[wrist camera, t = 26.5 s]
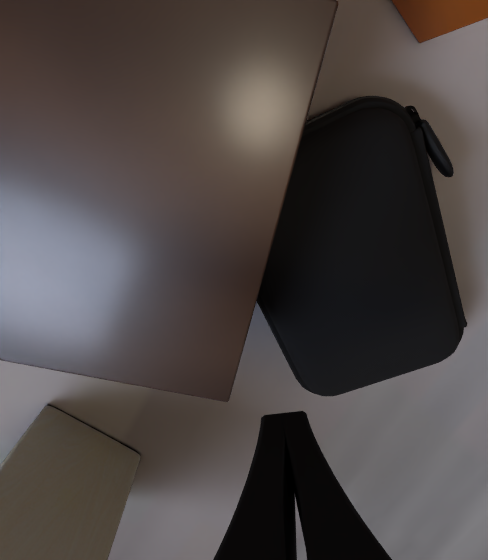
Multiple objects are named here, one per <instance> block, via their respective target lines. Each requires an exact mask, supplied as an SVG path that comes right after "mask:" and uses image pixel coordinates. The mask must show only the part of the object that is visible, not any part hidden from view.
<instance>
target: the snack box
mask: <svg viewBox="0 0 488 560" xmlns="http://www.w3.org/2000/svg"><path fill="white" fill-rule="evenodd" d="M392 2H393V3H394V5H395V6H396V8H397V10H398V11H399V13H400V14H401V16H402V17H403V19H404V20H405V22H406V23H407V25H408V26H409V28H410V29H411V31H412V32H413V34H414V35H415V37H416V38H417V40H418V42H420V43H422V42H424V41H427V40H430V39H432V38H435V37H438V36H440V35H443V34H446V33H448V32H451V31H454V30H456V29H459V28H462V27H464V26H467V25H470V24H473V23H475V22H478V21H481V20H483V19H486V18H488V0H392Z"/></svg>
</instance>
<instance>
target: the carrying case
mask: <svg viewBox="0 0 488 560" xmlns="http://www.w3.org/2000/svg"><path fill="white" fill-rule="evenodd" d="M412 110H413V111H414V112H413V111H412ZM427 153H428V155H429V156H430V158H431V160H432V162H433V163H434V165H435V166H436V168H437V169H438V170H439V171H440V173H441V174H442V175H444V176H445V177H452V176H453V173H454V172H453V167H452V164H451V161H450V159H449V158H448V156H447V154H446V152H445V150H444V149H443V147H442V145H441V143H440V141H439V140H438V138H437V136H436V135H435V133H434V131H433V130H432V128H431V126H430V125H429V123H428V122H427V121H426V120H424V119H423V120H421V119H420V117H419V115H418V112H417V110H416V109H415V107H414V106H406V107H403V106H401V105H400V104H399V103H397V102H395V101H393V100H391V99H388V98H385V97H379V96H366V97H359V98H357V99H354V100H351V101H349V102H347V103H345V104H343V105H341V106H339V107H337V108H335V109H333V110H331V111H329V112H327V113H324V114H322V115H320V116H318V117H316V118H314V119H312V120H310V121H308V122H306V123H305V127H304V130H303V134H302V137H301V141H300V145H299V148H298V152H297V156H296V159H295V163H294V166H293V170H292V174H291V177H290V181H289V185H288V188H287V192H286V195H285V199H284V203H283V206H282V210H281V214H280V217H279V221H278V224H277V228H276V232H275V235H274V239H273V242H272V246H271V250H270V253H269V257H268V261H267V264H266V268H265V271H264V275H263V279H262V282H261V286H260V290H259V293H258V297H257V300H256V301H257V303H258V305H259V306H260V308H261V310H262V312H263V314H264V316H265V318H266V320H267V322H268V324H269V326H270V328H271V330H272V332H273V334H274V336H275V338H276V340H277V342H278V344H279V346H280V348H281V350H282V352H283V354H284V356H285V358H286V360H287V362H288V364H289V366H290V368H291V370H292V372H293V373H294V375H295V377H296V379H297V380H298V382H299V383H300V384H301V386H302V387H303V388H305V389H306V390H308V391H310V392H312V393H314V394H318V395H321V396H336V395H340V394H343V393H346V392H349V391H352V390H355V389H358V388H362V387H365V386H368V385H371V384H374V383H377V382H380V381H383V380H386V379H389V378H393V377H396V376H399V375H402V374H405V373H408V372H411V371H414V370H417V369H420V368H423V367H427V366H430V365H433V364H436V363H439V362H441V361H443V360H444V359H446V358H447V357H449V356H450V355H451V354H453V353H454V352H455V350H456V348H457V346H458V344H459V342H460V340H461V338H462V335H463V330H464V327H466V326H467V322H466V319H465V317H464V312H463V308H462V304H461V299H460V295H459V290H458V286H457V282H456V277H455V273H454V269H453V264H452V260H451V256H450V251H449V247H448V242H447V238H446V234H445V229H444V225H443V221H442V216H441V212H440V208H439V203H438V199H437V195H436V190H435V186H434V181H433V177H432V173H431V168H430V164H429V160H428V155H427Z"/></svg>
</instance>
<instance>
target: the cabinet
mask: <svg viewBox="0 0 488 560" xmlns="http://www.w3.org/2000/svg"><path fill="white" fill-rule="evenodd" d="M337 7H338V1H336V0H0V360H3V361H8V362H13V363H19V364H24V365H30V366H35V367H40V368H46V369H51V370H57V371H62V372H67V373H73V374H78V375H84V376H89V377H94V378H100V379H105V380H111V381H116V382H121V383H127V384H132V385H137V386H143V387H148V388H154V389H159V390H164V391H170V392H175V393H181V394H186V395H191V396H197V397H202V398H208V399H213V400H218V401H224V402H228V401H229V398H230V395H231V391H232V387H233V384H234V380H235V377H236V373H237V369H238V366H239V362H240V358H241V355H242V351H243V348H244V344H245V340H246V337H247V333H248V329H249V326H250V322H251V319H252V315H253V311H254V308H255V304H256V300H257V297H258V293H259V290H260V286H261V282H262V279H263V275H264V271H265V268H266V264H267V261H268V257H269V253H270V250H271V246H272V242H273V239H274V235H275V232H276V228H277V224H278V221H279V217H280V214H281V210H282V206H283V203H284V199H285V195H286V192H287V188H288V185H289V181H290V177H291V174H292V170H293V166H294V163H295V159H296V156H297V152H298V148H299V145H300V141H301V137H302V134H303V130H304V127H305V123H306V119H307V116H308V112H309V108H310V105H311V101H312V98H313V94H314V90H315V87H316V83H317V79H318V76H319V72H320V69H321V65H322V61H323V58H324V54H325V50H326V47H327V43H328V40H329V36H330V32H331V29H332V25H333V21H334V18H335V14H336V11H337Z"/></svg>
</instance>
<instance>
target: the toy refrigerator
mask: <svg viewBox="0 0 488 560" xmlns="http://www.w3.org/2000/svg"><path fill="white" fill-rule="evenodd" d="M139 462H140V455H139V454H138V453H136V452H135V451H133V450H131V449H129V448H128V447H126V446H124V445H122V444H120V443H119V442H117V441H115V440H113V439H111V438H110V437H108V436H106V435H104V434H102V433H100V432H98V431H97V430H95V429H93V428H91V427H89V426H87V425H85V424H84V423H82V422H80V421H78V420H76V419H74V418H73V417H71V416H69V415H67V414H65V413H63V412H62V411H60V410H58V409H56V408H54V407H51V406H45V407H44V409H43V410H42V411H41V412H40V414H39V415H38V416H37V418H36V419H35V420H34V422H33V423H32V424H31V425H30V427H29V428H28V429H27V431H26V432H25V433H24V435H23V436H22V437H21V439H20V440H19V441H18V443H17V444H16V445H15V446H14V448H13V449H12V450H11V452H10V453H9V454H8V456H7V457H6V459H5V460H4V461H3V463H2V464H1V466H0V560H108V556H109V553H110V550H111V547H112V544H113V541H114V538H115V535H116V532H117V529H118V526H119V523H120V520H121V517H122V514H123V511H124V508H125V505H126V501H127V498H128V495H129V492H130V489H131V486H132V483H133V480H134V477H135V474H136V471H137V468H138V465H139Z"/></svg>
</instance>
